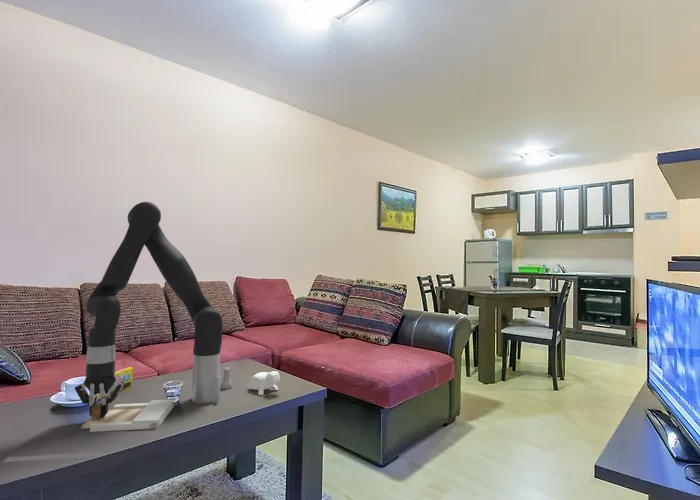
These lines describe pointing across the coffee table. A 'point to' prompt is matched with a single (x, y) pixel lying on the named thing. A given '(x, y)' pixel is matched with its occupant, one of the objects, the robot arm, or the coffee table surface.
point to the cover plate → (110, 415)
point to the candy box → (122, 379)
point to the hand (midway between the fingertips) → (98, 416)
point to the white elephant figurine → (264, 381)
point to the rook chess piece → (226, 379)
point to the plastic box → (139, 416)
